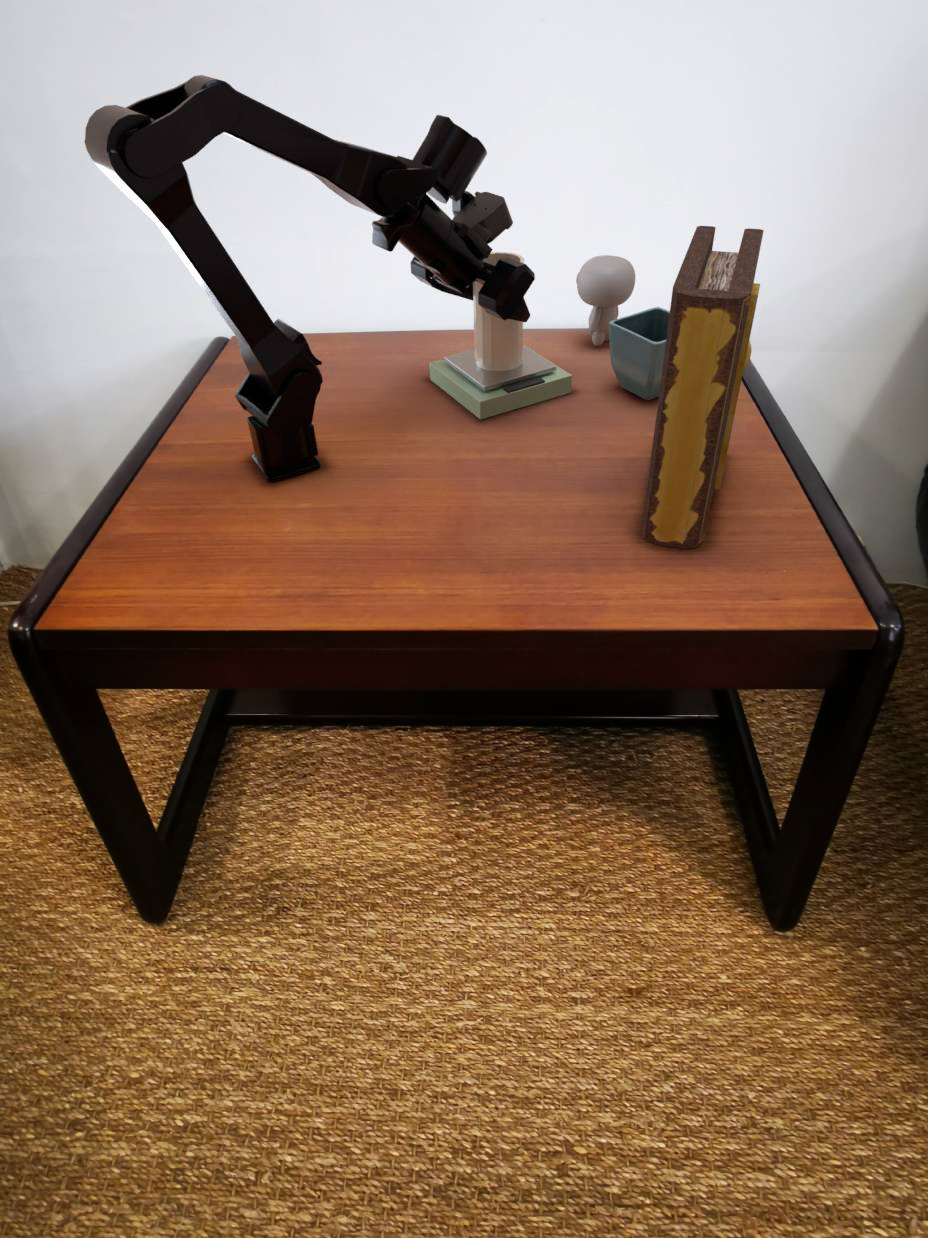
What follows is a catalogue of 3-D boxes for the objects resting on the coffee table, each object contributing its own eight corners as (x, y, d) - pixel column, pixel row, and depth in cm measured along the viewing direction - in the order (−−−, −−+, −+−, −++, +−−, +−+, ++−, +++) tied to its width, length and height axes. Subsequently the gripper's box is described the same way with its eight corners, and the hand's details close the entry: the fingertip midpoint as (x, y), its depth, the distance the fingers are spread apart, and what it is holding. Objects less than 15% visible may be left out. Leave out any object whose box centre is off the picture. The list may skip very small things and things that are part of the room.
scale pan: (484, 391, 105) (484, 386, 104) (443, 360, 112) (443, 356, 112) (556, 370, 109) (556, 366, 108) (512, 342, 116) (512, 338, 116)
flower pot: (696, 392, 109) (707, 325, 103) (647, 411, 105) (656, 343, 99) (649, 370, 115) (657, 305, 109) (601, 387, 111) (606, 321, 105)
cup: (520, 372, 107) (521, 268, 99) (472, 370, 108) (469, 268, 100) (524, 351, 112) (525, 251, 103) (478, 350, 113) (476, 251, 104)
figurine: (593, 328, 126) (599, 245, 118) (637, 339, 123) (646, 254, 115) (564, 346, 122) (568, 261, 114) (609, 358, 118) (616, 271, 110)
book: (712, 553, 82) (763, 301, 66) (627, 539, 85) (656, 293, 68) (731, 446, 98) (777, 221, 82) (659, 437, 100) (689, 216, 84)
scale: (480, 419, 105) (479, 399, 103) (429, 379, 115) (428, 360, 113) (571, 392, 110) (572, 372, 108) (515, 356, 120) (515, 337, 118)
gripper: (523, 188, 87) (592, 272, 99) (424, 158, 99) (497, 236, 111) (465, 282, 89) (540, 353, 101) (374, 241, 101) (452, 309, 113)
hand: (507, 309), depth 106 cm, fingers open, 8 cm apart
